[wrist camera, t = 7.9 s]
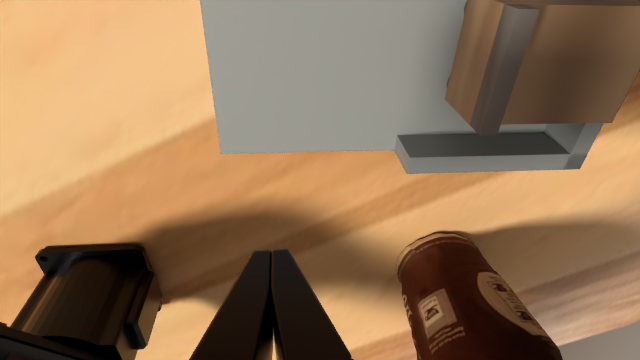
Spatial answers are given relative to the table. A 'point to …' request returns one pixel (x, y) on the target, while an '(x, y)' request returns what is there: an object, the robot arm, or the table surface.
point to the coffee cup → (465, 306)
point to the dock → (361, 86)
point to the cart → (544, 61)
